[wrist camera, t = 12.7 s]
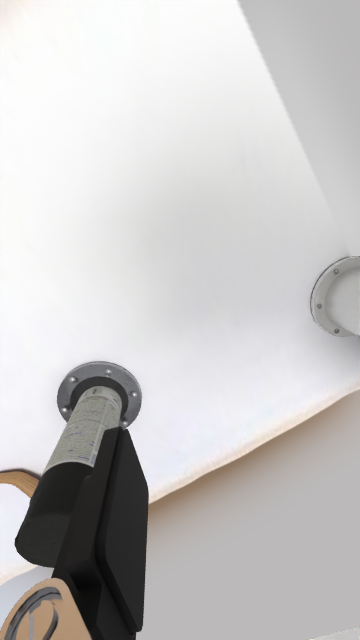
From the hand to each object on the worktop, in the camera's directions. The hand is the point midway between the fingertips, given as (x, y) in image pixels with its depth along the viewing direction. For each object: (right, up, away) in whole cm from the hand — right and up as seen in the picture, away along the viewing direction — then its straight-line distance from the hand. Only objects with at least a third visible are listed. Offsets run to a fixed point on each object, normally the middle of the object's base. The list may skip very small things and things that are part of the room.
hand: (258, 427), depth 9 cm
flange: (-16, -9, +32) cm, 37 cm away
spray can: (-15, -9, +31) cm, 36 cm away
